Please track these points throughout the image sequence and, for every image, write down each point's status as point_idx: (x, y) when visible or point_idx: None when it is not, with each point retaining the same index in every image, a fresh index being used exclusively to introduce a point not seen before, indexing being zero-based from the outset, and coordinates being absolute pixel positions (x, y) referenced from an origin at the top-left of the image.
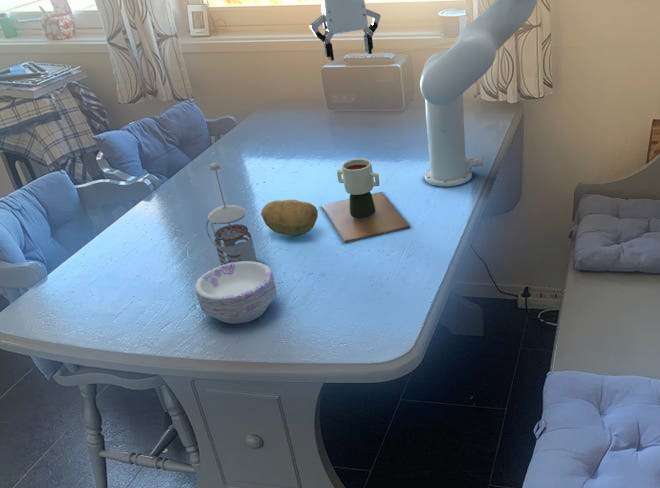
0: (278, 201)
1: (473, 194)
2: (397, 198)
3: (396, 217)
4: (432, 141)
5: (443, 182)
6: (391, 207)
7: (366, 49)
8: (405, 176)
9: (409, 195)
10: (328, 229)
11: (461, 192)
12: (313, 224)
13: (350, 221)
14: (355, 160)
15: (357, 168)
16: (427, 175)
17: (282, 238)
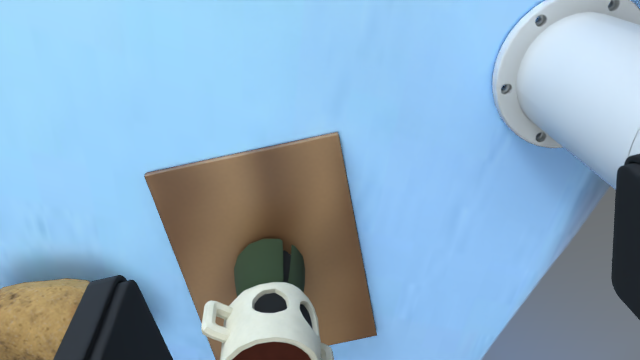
0: (16, 343)
1: (581, 203)
2: (378, 173)
3: (354, 293)
4: (588, 160)
5: (534, 140)
6: (350, 241)
7: (636, 231)
8: (439, 11)
9: (416, 163)
10: (175, 299)
11: (558, 183)
12: None
13: (234, 289)
14: (270, 341)
15: (273, 355)
16: (507, 70)
17: None
